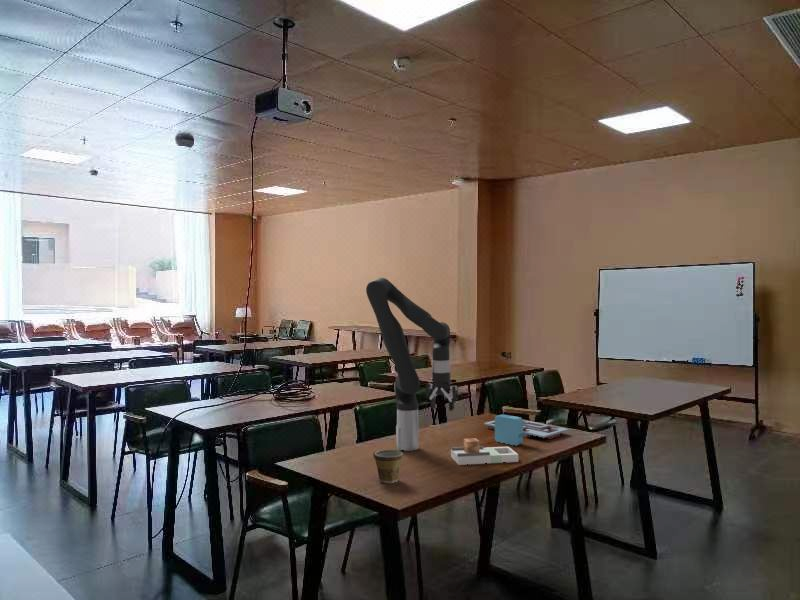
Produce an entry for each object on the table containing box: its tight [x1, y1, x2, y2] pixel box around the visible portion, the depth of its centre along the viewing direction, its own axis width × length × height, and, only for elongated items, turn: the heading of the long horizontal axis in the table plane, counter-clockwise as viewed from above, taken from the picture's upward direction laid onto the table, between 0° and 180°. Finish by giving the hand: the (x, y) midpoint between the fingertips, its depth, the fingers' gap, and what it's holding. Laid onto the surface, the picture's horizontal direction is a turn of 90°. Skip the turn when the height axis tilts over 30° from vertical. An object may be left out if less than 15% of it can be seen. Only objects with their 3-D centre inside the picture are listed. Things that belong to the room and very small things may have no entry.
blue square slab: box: [494, 414, 524, 447], centre depth 260 cm, size 12×4×12 cm, turn 48°
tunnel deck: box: [450, 445, 519, 466], centre depth 236 cm, size 24×12×4 cm, turn 99°
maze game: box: [483, 419, 569, 440], centre depth 282 cm, size 35×20×3 cm, turn 41°
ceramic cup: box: [372, 449, 403, 484], centre depth 210 cm, size 13×10×10 cm
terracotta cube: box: [463, 437, 480, 453], centre depth 235 cm, size 5×5×5 cm
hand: (442, 409), depth 243 cm, fingers open, 8 cm apart
